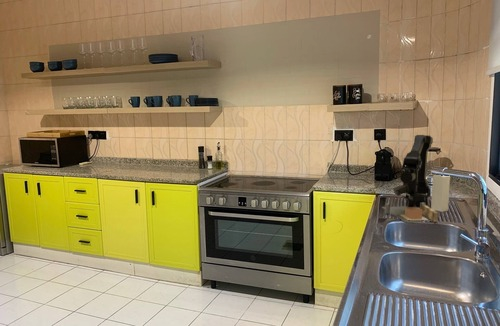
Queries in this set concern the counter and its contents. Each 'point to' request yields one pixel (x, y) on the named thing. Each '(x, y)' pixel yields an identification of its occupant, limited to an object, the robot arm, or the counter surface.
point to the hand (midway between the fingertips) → (409, 210)
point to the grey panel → (400, 214)
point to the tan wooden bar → (429, 213)
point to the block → (413, 212)
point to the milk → (440, 193)
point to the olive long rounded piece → (389, 207)
